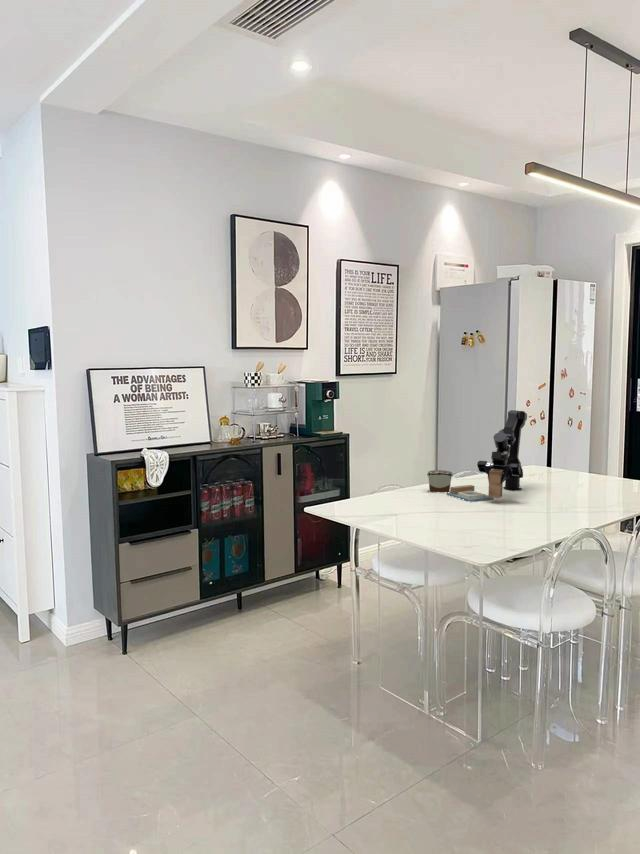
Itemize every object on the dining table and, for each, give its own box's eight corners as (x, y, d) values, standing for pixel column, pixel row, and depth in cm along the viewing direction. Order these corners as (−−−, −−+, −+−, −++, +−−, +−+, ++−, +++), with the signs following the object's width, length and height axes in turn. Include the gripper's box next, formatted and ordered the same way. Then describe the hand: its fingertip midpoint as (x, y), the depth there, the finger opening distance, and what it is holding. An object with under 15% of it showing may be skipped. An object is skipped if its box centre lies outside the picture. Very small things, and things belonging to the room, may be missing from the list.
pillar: (491, 495, 314) (492, 469, 313) (502, 496, 312) (503, 470, 310) (488, 497, 310) (489, 471, 308) (499, 498, 307) (500, 472, 306)
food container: (451, 490, 337) (451, 470, 336) (452, 492, 331) (452, 472, 330) (425, 489, 338) (426, 469, 337) (426, 492, 332) (427, 471, 331)
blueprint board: (469, 492, 333) (470, 484, 332) (493, 499, 318) (493, 490, 317) (446, 494, 326) (446, 486, 326) (469, 502, 311) (470, 493, 311)
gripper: (478, 443, 316) (471, 470, 307) (520, 446, 307) (513, 474, 299) (483, 457, 324) (475, 484, 315) (523, 460, 315) (516, 488, 306)
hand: (495, 482), depth 309 cm, fingers closed on pillar, 5 cm apart
